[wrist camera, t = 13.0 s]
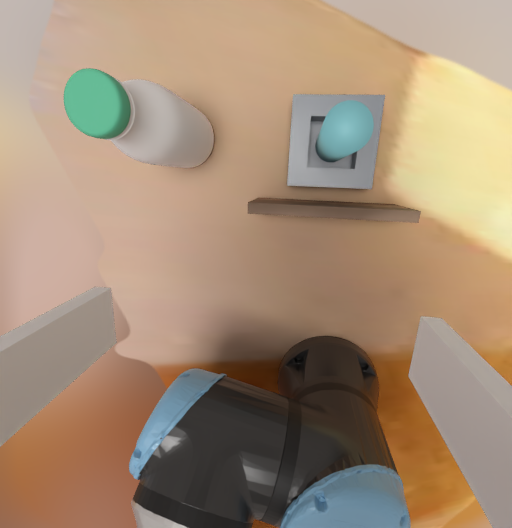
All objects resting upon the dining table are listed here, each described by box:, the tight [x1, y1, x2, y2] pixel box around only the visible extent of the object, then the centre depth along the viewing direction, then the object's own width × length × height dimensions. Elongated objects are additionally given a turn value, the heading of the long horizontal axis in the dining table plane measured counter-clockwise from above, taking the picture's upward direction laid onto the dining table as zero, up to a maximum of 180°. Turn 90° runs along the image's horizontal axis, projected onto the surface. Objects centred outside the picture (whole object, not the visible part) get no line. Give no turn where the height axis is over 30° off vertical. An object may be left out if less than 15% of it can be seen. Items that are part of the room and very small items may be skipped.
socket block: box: [287, 94, 385, 189], centre depth 37 cm, size 10×10×4 cm
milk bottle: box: [64, 69, 214, 168], centre depth 31 cm, size 8×8×20 cm
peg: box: [315, 100, 374, 162], centre depth 31 cm, size 4×4×14 cm
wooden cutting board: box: [248, 198, 421, 223], centre depth 36 cm, size 1×18×9 cm, turn 88°
